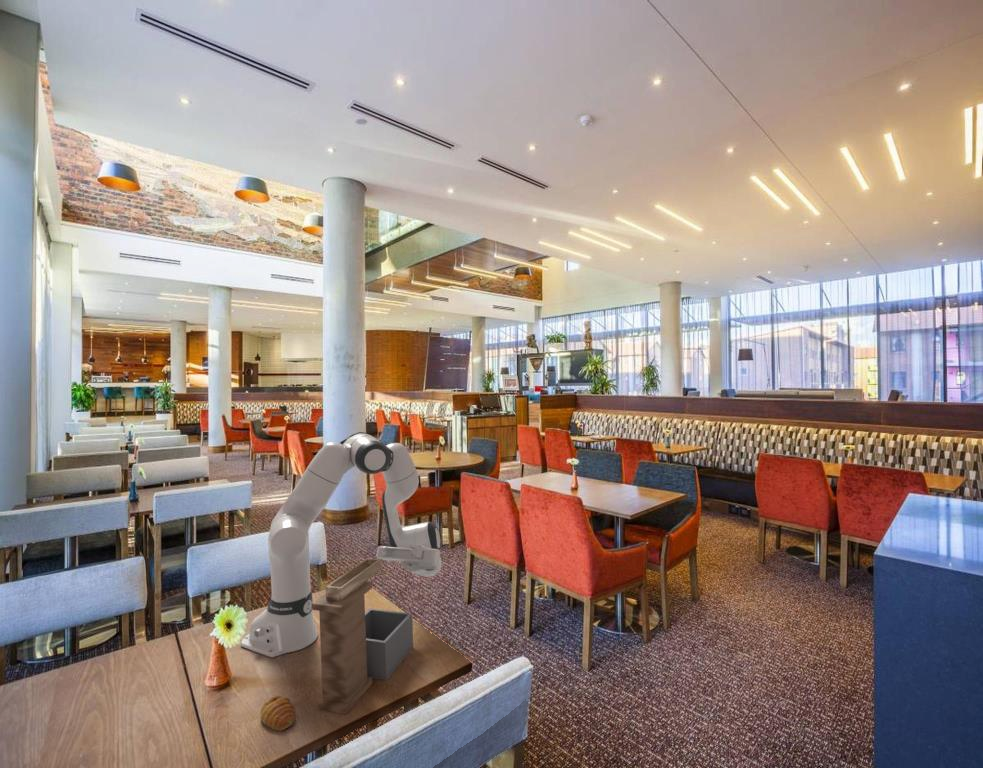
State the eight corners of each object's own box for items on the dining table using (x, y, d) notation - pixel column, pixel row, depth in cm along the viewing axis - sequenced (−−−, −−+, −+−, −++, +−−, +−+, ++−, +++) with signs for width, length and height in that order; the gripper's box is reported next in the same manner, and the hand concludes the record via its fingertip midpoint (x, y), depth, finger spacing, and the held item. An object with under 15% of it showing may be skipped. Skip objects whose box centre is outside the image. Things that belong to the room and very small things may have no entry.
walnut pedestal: (315, 710, 116) (311, 603, 116) (349, 675, 130) (345, 579, 129) (344, 715, 114) (340, 607, 113) (375, 679, 127) (371, 582, 127)
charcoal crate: (340, 672, 131) (339, 636, 131) (371, 640, 146) (370, 608, 146) (386, 680, 127) (385, 642, 127) (413, 647, 142) (412, 613, 142)
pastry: (302, 722, 113) (302, 706, 113) (273, 738, 108) (272, 722, 108) (285, 704, 119) (284, 689, 119) (257, 719, 114) (256, 703, 114)
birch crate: (326, 598, 118) (325, 586, 118) (367, 568, 136) (367, 558, 136) (341, 600, 117) (341, 588, 117) (381, 569, 135) (380, 559, 135)
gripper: (389, 546, 165) (370, 538, 153) (444, 550, 159) (429, 542, 148) (385, 565, 162) (365, 559, 150) (441, 570, 156) (425, 563, 145)
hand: (397, 550), depth 149 cm, fingers open, 8 cm apart
